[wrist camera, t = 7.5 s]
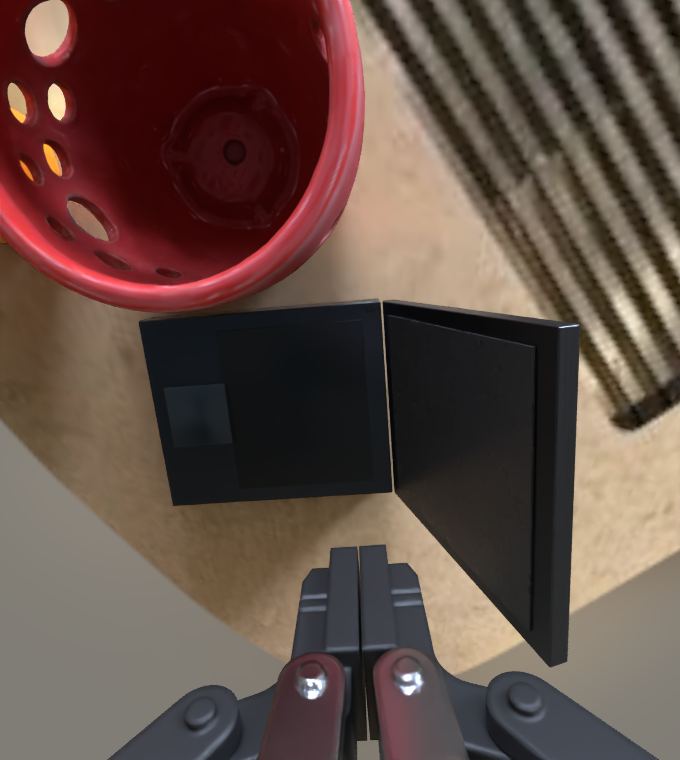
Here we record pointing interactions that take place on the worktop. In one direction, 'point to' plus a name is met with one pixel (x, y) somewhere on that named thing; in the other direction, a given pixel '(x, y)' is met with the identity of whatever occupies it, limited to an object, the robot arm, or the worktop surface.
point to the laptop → (271, 402)
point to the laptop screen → (490, 452)
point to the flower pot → (181, 144)
